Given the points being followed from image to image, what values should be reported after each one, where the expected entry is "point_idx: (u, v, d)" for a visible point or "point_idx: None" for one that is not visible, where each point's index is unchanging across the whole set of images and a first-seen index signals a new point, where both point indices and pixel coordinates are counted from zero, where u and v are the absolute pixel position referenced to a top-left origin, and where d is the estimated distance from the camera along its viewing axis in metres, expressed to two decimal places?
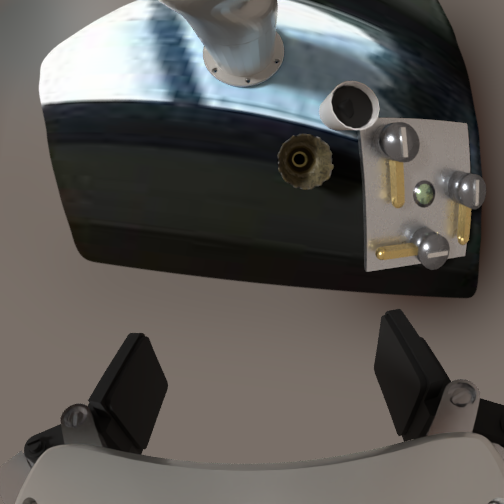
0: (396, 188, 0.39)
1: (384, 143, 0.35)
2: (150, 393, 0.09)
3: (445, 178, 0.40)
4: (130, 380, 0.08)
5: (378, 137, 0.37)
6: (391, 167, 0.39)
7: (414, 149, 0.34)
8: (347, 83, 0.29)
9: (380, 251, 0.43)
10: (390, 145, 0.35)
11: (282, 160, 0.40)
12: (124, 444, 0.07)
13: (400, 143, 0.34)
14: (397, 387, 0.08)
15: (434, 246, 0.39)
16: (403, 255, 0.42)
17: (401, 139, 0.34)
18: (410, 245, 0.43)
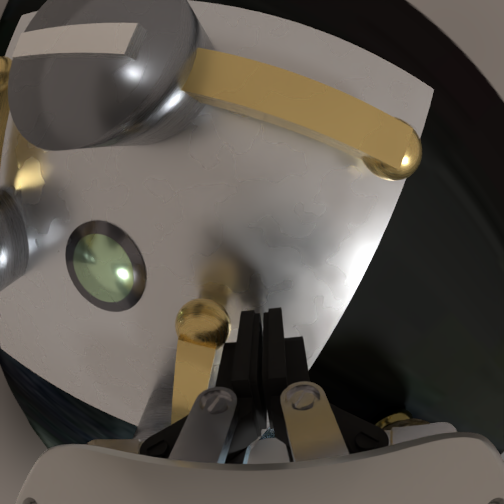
0: None
1: None
2: None
3: (35, 277, 0.13)
4: (259, 355, 0.09)
5: None
6: None
7: None
8: None
9: (406, 174, 0.08)
10: None
11: None
12: (256, 424, 0.08)
13: None
14: None
15: (73, 87, 0.05)
16: (293, 83, 0.07)
17: None
18: (218, 104, 0.08)
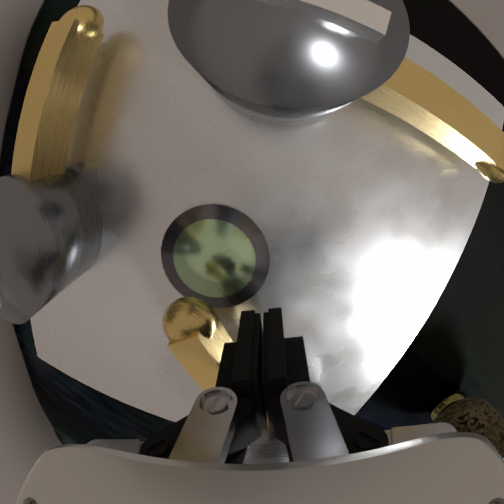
0: None
1: None
2: None
3: (108, 273, 0.13)
4: (259, 355, 0.09)
5: None
6: None
7: None
8: None
9: None
10: None
11: None
12: (256, 425, 0.08)
13: None
14: None
15: (300, 42, 0.05)
16: (454, 98, 0.06)
17: None
18: (385, 100, 0.08)
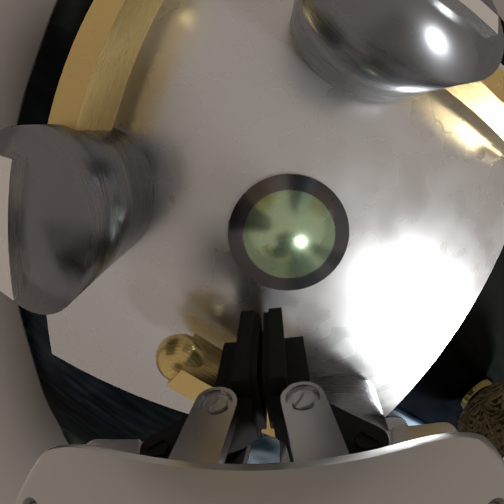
0: None
1: None
2: None
3: (156, 252, 0.12)
4: (259, 355, 0.09)
5: (382, 413, 0.12)
6: None
7: None
8: None
9: None
10: None
11: None
12: (256, 424, 0.08)
13: None
14: None
15: (435, 21, 0.04)
16: None
17: None
18: (464, 88, 0.07)
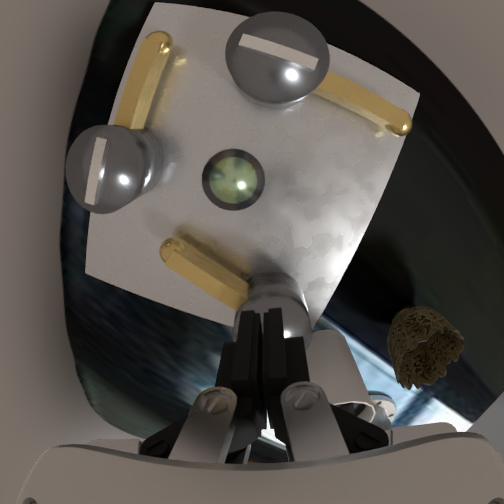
0: (199, 267, 0.21)
1: (297, 308, 0.20)
2: None
3: (164, 192, 0.21)
4: (259, 355, 0.09)
5: (301, 297, 0.22)
6: (236, 280, 0.23)
7: None
8: None
9: (405, 133, 0.16)
10: (286, 315, 0.20)
11: (428, 337, 0.25)
12: (256, 424, 0.08)
13: None
14: None
15: (280, 74, 0.14)
16: (361, 91, 0.15)
17: None
18: (325, 94, 0.16)
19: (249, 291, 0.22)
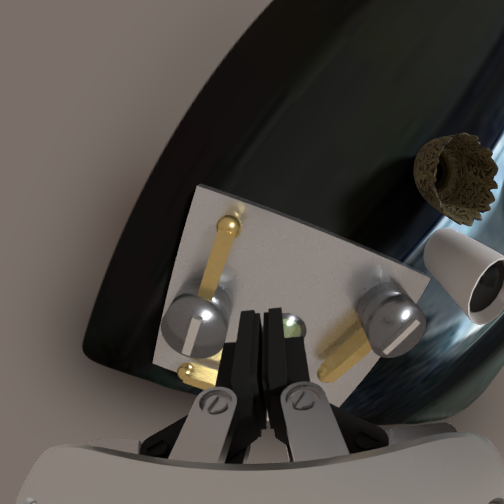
0: (338, 365, 0.27)
1: (379, 319, 0.23)
2: None
3: None
4: (259, 355, 0.09)
5: (378, 299, 0.25)
6: (356, 337, 0.28)
7: (401, 349, 0.24)
8: None
9: (237, 226, 0.23)
10: (382, 327, 0.23)
11: (450, 147, 0.20)
12: (256, 424, 0.08)
13: (395, 333, 0.23)
14: None
15: (207, 334, 0.24)
16: (209, 269, 0.24)
17: (401, 331, 0.23)
18: None
19: (365, 333, 0.27)
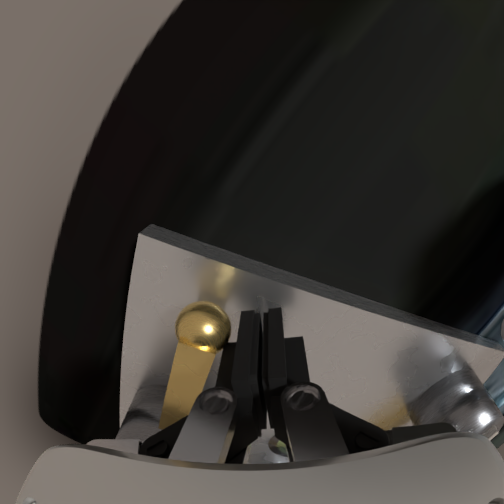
0: None
1: None
2: None
3: None
4: (259, 355, 0.09)
5: (449, 406, 0.12)
6: None
7: None
8: None
9: (220, 334, 0.10)
10: None
11: None
12: (256, 424, 0.08)
13: None
14: None
15: None
16: (171, 401, 0.11)
17: None
18: None
19: None
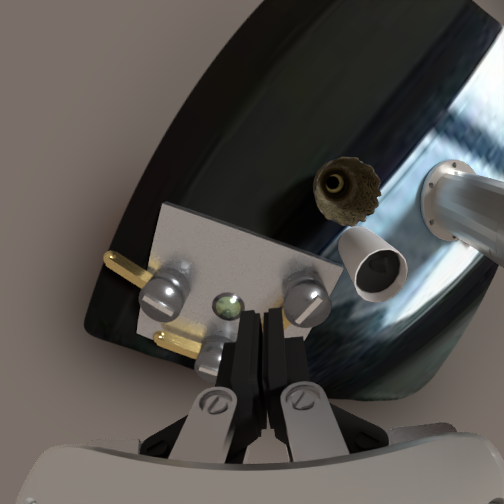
0: None
1: (288, 296, 0.34)
2: None
3: (234, 336, 0.43)
4: (259, 356, 0.09)
5: (292, 282, 0.36)
6: (282, 312, 0.39)
7: (313, 321, 0.35)
8: (401, 278, 0.29)
9: (106, 254, 0.36)
10: (291, 302, 0.34)
11: (348, 165, 0.31)
12: (256, 424, 0.08)
13: (304, 307, 0.35)
14: None
15: (159, 294, 0.35)
16: (127, 277, 0.36)
17: (308, 306, 0.34)
18: (144, 275, 0.38)
19: None
